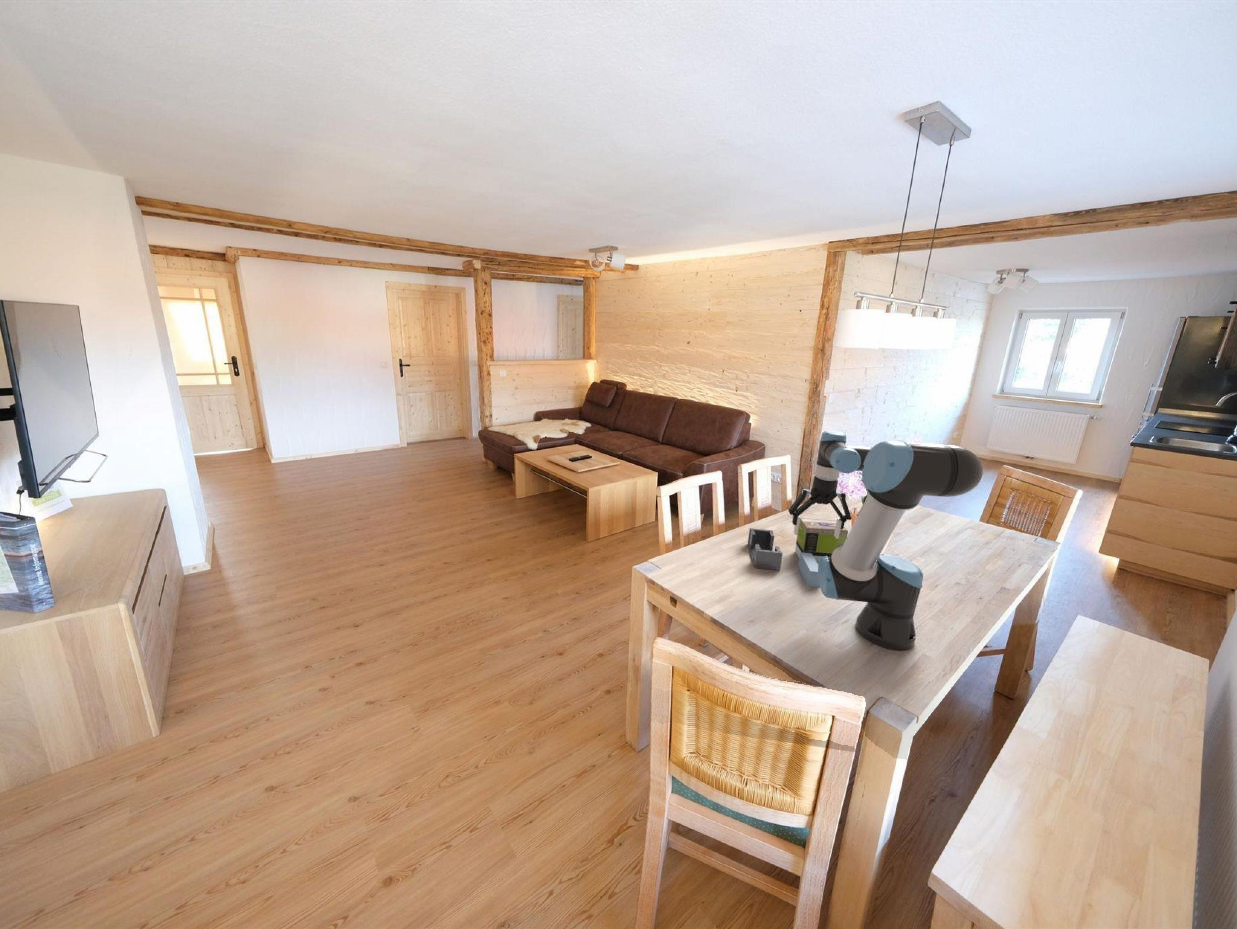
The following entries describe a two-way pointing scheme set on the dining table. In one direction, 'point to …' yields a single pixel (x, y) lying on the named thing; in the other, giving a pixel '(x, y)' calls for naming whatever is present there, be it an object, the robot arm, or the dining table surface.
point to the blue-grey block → (809, 569)
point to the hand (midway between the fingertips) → (815, 535)
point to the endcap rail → (764, 550)
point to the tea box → (818, 537)
